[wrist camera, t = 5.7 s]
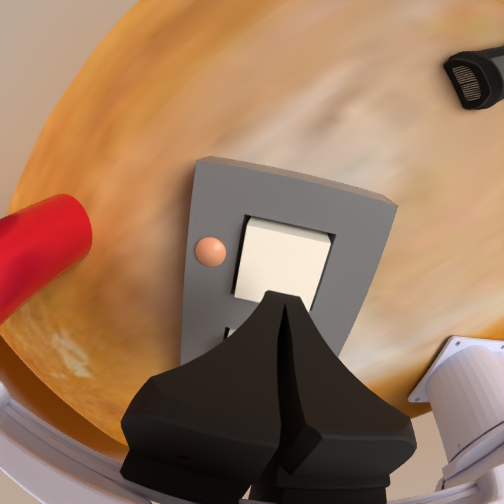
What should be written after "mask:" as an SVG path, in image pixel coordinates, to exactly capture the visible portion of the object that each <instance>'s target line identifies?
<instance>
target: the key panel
mask: <svg viewBox="0 0 504 504" xmlns="http://www.w3.org/2000/svg"><path fill="white" fill-rule="evenodd" d="M397 208H398V205H396V204H395V203H394V202H392V201H391V200H389V199H388V198H387V197H385V196H384V195H381V194H378V193H375V192H371V191H368V190H364V189H361V188H357V187H353V186H350V185H346V184H342V183H338V182H335V181H331V180H327V179H323V178H318V177H314V176H310V175H306V174H302V173H297V172H293V171H288V170H283V169H279V168H274V167H269V166H264V165H259V164H253V163H248V162H243V161H237V160H231V159H225V158H219V157H213V156H209V157H206V158H202V159H199V160H197V161H196V168H195V175H194V183H193V191H192V199H191V208H190V217H189V227H188V237H187V249H186V261H185V274H184V289H183V306H182V328H181V363H180V366H181V365H184V364H186V363H188V362H189V361H191V360H193V359H195V358H197V357H199V356H201V355H203V354H205V353H206V352H208V351H209V350H211V349H212V348H214V347H215V346H217V345H218V344H220V343H221V342H222V341H224V340H225V339H226V338H227V334H228V328H232V329H236V330H237V329H238V328H239V327H240V326H241V325H242V324H243V323H244V322H245V321H246V320H247V318H248V317H249V316H250V315H251V314H252V312H253V311H254V310H255V309H256V307H257V306H258V305H259V302H254V301H250V300H245V299H241V298H236V297H234V296H235V290H236V284H237V279H238V271H239V265H240V259H241V254H242V248H243V242H244V237H245V231H246V226H247V220H248V215H251V216H256V217H261V218H265V219H270V220H275V221H279V222H284V223H289V224H293V225H298V226H302V227H306V228H311V229H315V230H320V231H324V232H327V234H328V237H329V240H330V243H331V245H330V248H329V251H328V255H327V258H326V261H325V264H324V267H323V271H322V274H321V277H320V280H319V283H318V286H317V289H316V292H315V295H314V298H313V301H312V304H311V307H310V310H309V315H310V317H311V319H312V320H313V322H314V324H315V326H316V327H317V329H318V331H319V332H320V334H321V336H322V337H323V339H324V340H325V341H326V343H327V344H328V346H329V347H330V349H331V350H332V351H333V352H334V354H335V355H336V356H337V357H338V356H339V354H340V352H341V350H342V348H343V346H344V344H345V341H346V339H347V337H348V335H349V333H350V331H351V329H352V327H353V324H354V322H355V320H356V318H357V316H358V313H359V311H360V309H361V306H362V304H363V302H364V299H365V297H366V295H367V292H368V290H369V287H370V285H371V282H372V280H373V277H374V275H375V272H376V269H377V267H378V264H379V261H380V259H381V256H382V253H383V250H384V248H385V245H386V242H387V239H388V236H389V233H390V230H391V227H392V224H393V221H394V217H395V214H396V211H397Z"/></svg>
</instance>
